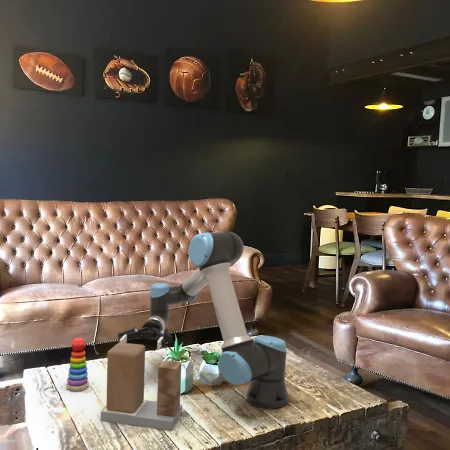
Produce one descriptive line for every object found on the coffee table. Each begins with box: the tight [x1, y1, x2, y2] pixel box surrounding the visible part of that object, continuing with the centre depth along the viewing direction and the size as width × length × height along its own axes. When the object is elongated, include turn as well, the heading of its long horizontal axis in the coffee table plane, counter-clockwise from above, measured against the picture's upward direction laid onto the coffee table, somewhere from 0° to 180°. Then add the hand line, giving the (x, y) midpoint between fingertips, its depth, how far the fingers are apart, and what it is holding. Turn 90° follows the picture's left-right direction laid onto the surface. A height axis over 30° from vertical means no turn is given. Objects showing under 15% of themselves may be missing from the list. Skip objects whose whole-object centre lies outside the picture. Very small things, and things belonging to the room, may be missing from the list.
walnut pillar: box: [156, 360, 182, 417], centre depth 164 cm, size 6×6×16 cm
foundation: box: [100, 399, 183, 432], centre depth 166 cm, size 24×12×3 cm, turn 79°
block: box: [105, 342, 146, 413], centre depth 166 cm, size 10×10×20 cm
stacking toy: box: [66, 337, 90, 392], centre depth 186 cm, size 8×8×19 cm
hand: (139, 344), depth 177 cm, fingers open, 13 cm apart
